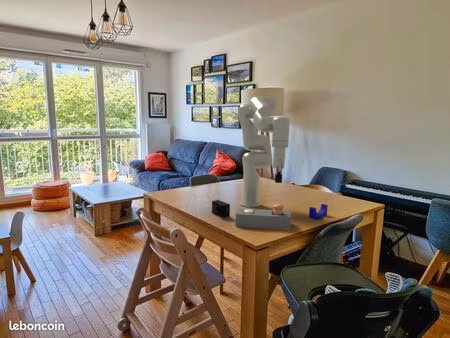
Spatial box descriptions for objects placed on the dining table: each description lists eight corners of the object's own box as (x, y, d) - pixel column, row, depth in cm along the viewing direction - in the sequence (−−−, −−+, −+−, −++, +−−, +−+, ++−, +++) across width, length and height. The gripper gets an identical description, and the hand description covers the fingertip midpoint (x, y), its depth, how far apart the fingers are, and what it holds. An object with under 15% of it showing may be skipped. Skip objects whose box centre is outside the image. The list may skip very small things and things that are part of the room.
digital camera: (209, 213, 164) (209, 201, 163) (217, 211, 167) (218, 199, 166) (221, 218, 156) (221, 205, 155) (229, 216, 159) (229, 203, 158)
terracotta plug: (272, 215, 150) (272, 203, 149) (282, 215, 149) (283, 204, 148) (272, 218, 145) (273, 206, 144) (283, 219, 144) (283, 207, 143)
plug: (243, 220, 152) (243, 209, 151) (253, 221, 151) (254, 209, 150) (243, 224, 147) (243, 212, 146) (253, 224, 146) (253, 212, 146)
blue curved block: (316, 220, 157) (317, 209, 156) (308, 218, 160) (309, 207, 159) (329, 216, 164) (330, 205, 163) (322, 214, 168) (322, 203, 167)
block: (236, 219, 155) (237, 208, 154) (288, 222, 152) (289, 210, 151) (235, 226, 145) (235, 214, 144) (290, 229, 142) (291, 217, 141)
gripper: (271, 142, 149) (270, 179, 152) (272, 144, 135) (270, 185, 137) (287, 143, 148) (285, 180, 151) (289, 145, 134) (287, 186, 136)
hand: (278, 182), depth 144 cm, fingers closed
